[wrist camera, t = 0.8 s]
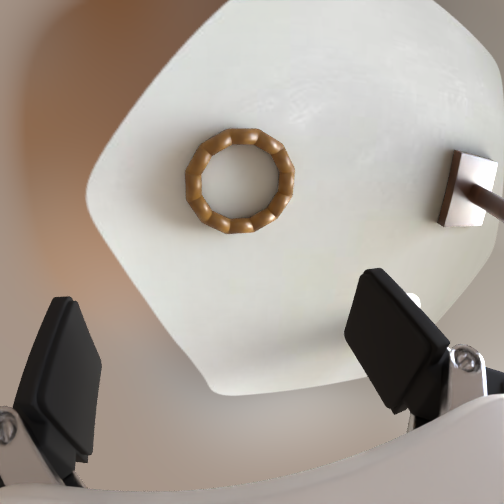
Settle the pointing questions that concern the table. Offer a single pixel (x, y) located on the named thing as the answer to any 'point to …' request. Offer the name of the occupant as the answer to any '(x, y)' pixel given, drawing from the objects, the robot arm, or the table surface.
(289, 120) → the table surface
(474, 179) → the post
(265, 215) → the ring
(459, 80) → the table surface
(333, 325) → the table surface
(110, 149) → the table surface
